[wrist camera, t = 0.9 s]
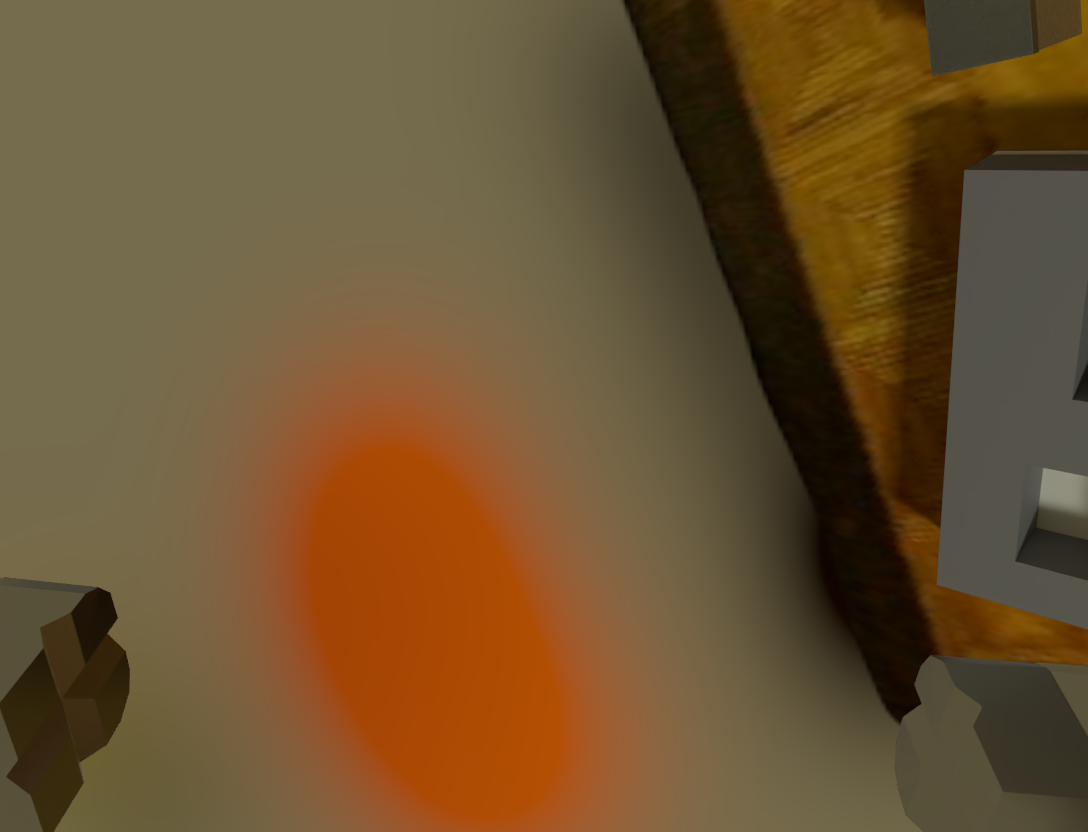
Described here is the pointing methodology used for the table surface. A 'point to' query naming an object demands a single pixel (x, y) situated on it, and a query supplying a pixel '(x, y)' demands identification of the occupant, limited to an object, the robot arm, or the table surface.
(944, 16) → the grey square-topped block
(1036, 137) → the table surface
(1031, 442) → the caddy
